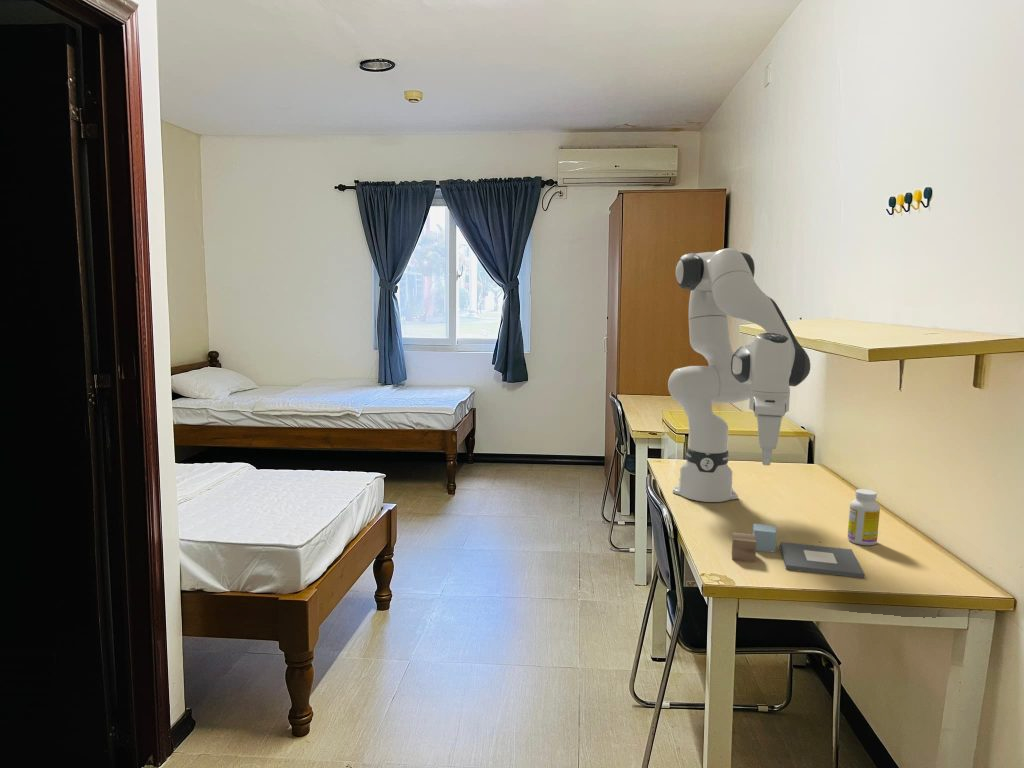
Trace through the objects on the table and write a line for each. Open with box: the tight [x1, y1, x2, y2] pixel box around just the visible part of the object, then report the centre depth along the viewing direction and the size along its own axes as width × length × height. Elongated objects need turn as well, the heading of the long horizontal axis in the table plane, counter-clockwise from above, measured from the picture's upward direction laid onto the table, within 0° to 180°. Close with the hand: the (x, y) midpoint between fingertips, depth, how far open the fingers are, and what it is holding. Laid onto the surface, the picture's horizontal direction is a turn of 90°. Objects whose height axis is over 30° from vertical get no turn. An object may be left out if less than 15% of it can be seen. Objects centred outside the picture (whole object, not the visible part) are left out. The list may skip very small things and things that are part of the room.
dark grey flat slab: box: [779, 541, 865, 579], centre depth 165 cm, size 15×16×1 cm
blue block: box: [752, 523, 778, 553], centre depth 173 cm, size 5×5×5 cm
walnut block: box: [731, 531, 757, 564], centre depth 166 cm, size 5×5×5 cm
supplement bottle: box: [847, 488, 881, 547], centre depth 177 cm, size 7×7×13 cm
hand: (765, 460), depth 170 cm, fingers open, 8 cm apart
